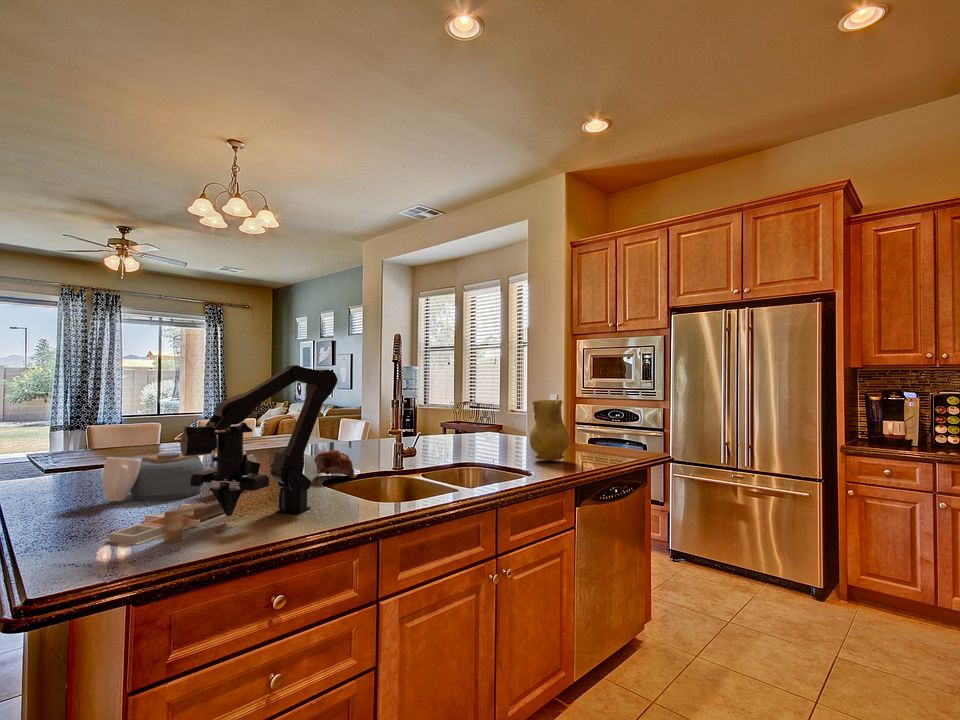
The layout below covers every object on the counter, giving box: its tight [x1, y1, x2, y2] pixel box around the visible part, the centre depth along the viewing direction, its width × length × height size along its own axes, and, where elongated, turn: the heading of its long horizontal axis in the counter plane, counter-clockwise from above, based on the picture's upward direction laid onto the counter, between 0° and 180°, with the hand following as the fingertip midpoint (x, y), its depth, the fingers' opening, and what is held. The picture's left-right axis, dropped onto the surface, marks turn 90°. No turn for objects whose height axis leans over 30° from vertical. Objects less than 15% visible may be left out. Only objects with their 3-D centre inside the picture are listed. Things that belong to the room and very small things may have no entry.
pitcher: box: [529, 399, 570, 461], centre depth 219 cm, size 17×19×25 cm
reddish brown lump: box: [313, 449, 358, 479], centre depth 177 cm, size 16×13×10 cm
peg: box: [163, 508, 183, 544], centre depth 109 cm, size 3×3×7 cm
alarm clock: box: [129, 452, 205, 501], centre depth 152 cm, size 19×20×12 cm
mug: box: [101, 456, 142, 502], centre depth 139 cm, size 12×8×11 cm
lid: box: [175, 501, 224, 520], centre depth 125 cm, size 10×9×3 cm
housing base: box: [144, 503, 234, 528], centre depth 126 cm, size 16×11×2 cm
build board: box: [104, 516, 194, 546], centre depth 113 cm, size 9×14×2 cm, turn 164°
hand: (229, 515), depth 123 cm, fingers closed
